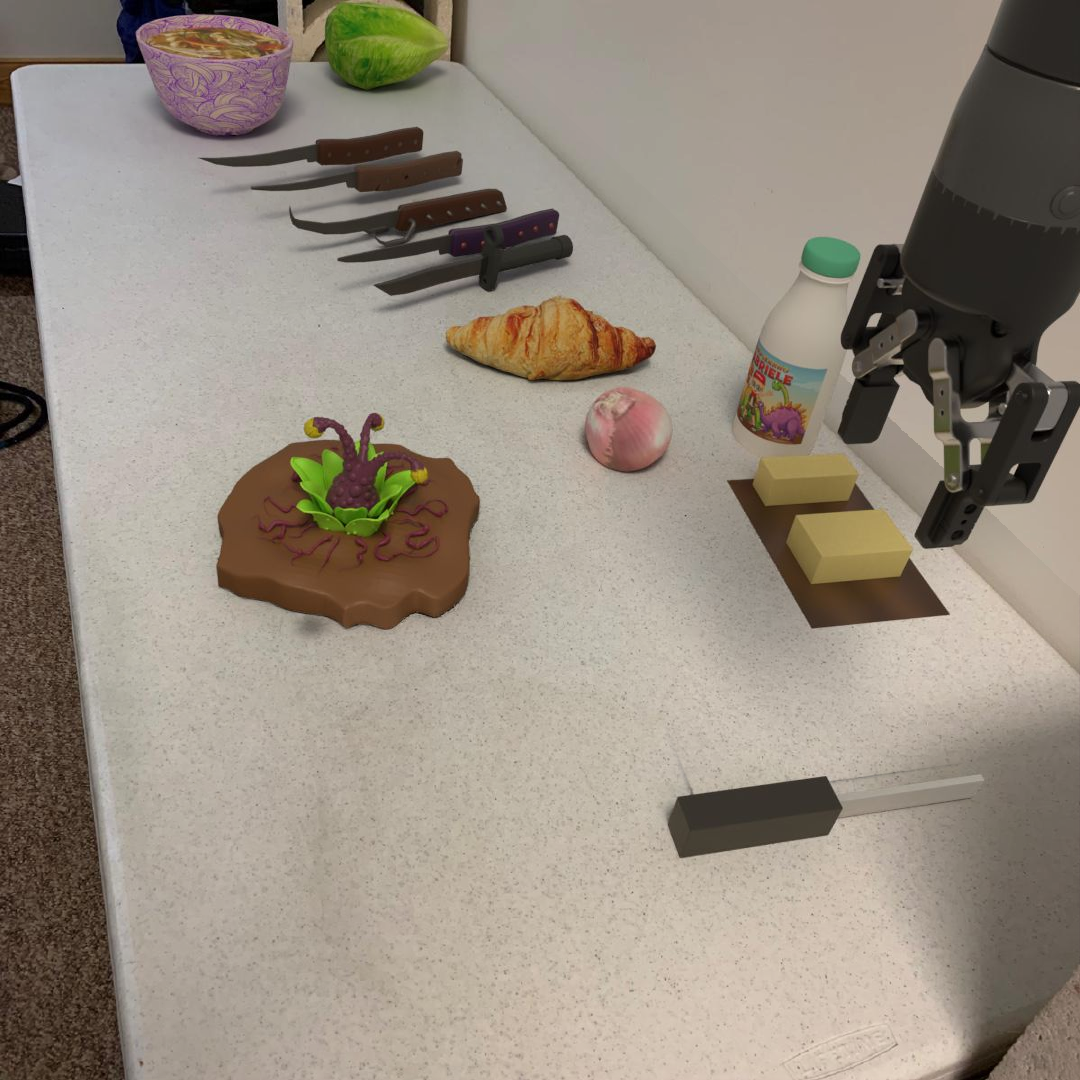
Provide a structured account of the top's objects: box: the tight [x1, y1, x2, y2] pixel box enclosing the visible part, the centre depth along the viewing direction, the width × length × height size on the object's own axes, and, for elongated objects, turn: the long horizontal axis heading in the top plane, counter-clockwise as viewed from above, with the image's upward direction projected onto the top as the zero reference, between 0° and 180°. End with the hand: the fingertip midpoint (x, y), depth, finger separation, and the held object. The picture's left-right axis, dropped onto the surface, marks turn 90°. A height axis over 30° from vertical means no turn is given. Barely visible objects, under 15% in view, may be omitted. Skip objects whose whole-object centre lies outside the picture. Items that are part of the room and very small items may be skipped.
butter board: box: [726, 478, 951, 629], centre depth 83 cm, size 12×18×1 cm, turn 13°
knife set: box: [198, 126, 574, 297], centre depth 117 cm, size 35×33×8 cm
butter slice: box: [753, 452, 860, 506], centre depth 86 cm, size 8×3×3 cm, turn 103°
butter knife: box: [667, 773, 985, 859], centre depth 62 cm, size 21×2×3 cm, turn 103°
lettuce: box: [324, 1, 450, 91], centre depth 155 cm, size 14×20×12 cm
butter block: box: [786, 508, 914, 584], centre depth 80 cm, size 8×5×3 cm, turn 103°
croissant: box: [445, 295, 657, 381], centre depth 99 cm, size 21×10×8 cm, turn 93°
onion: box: [584, 386, 674, 472], centre depth 88 cm, size 8×8×7 cm
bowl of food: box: [135, 14, 295, 136], centre depth 135 cm, size 20×20×12 cm
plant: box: [215, 412, 481, 630], centre depth 75 cm, size 20×20×11 cm
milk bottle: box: [731, 236, 861, 458], centre depth 88 cm, size 8×8×20 cm
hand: (892, 488), depth 51 cm, fingers open, 8 cm apart
